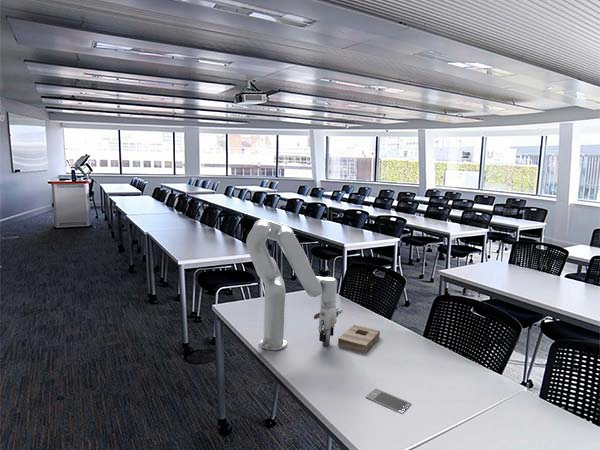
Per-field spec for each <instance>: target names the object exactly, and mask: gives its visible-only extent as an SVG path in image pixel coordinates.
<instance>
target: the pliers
mask: <svg viewBox="0 0 600 450" xmlns="http://www.w3.org/2000/svg"><path fill="white" fill-rule="evenodd" d="M341 312H343V309H339V308H336V317H337V316H339V315H338V314H339V313H341ZM313 317H314V319H317V318H318V317H320V312H317V313H316V314H314V315H313Z"/></svg>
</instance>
